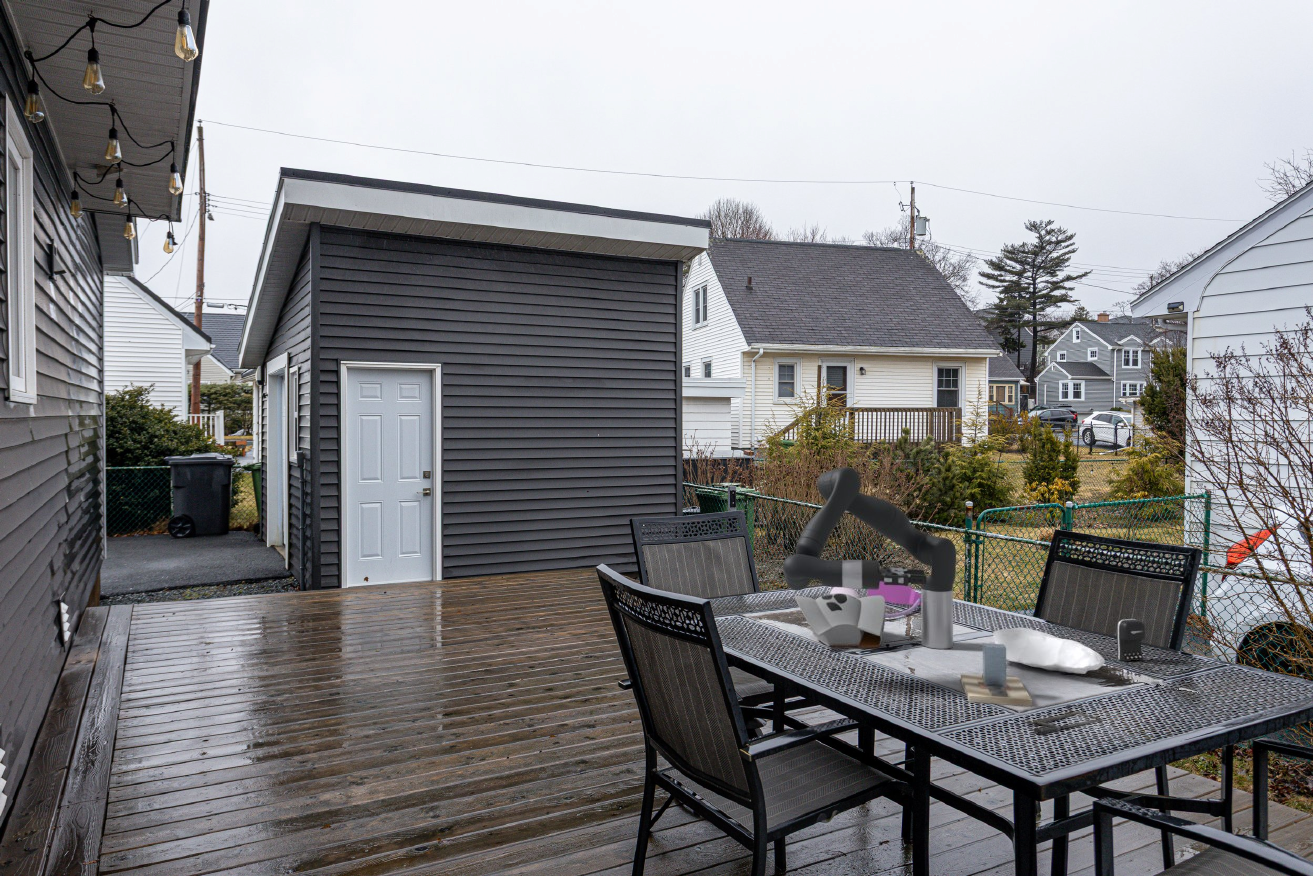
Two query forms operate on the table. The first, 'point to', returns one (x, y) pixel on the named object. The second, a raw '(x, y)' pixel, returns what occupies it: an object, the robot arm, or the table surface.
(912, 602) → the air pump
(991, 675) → the link block
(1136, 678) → the pliers
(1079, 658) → the crumpled cloth
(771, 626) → the table surface
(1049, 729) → the hacksaw
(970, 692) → the tan flat wooden board
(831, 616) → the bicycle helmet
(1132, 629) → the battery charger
